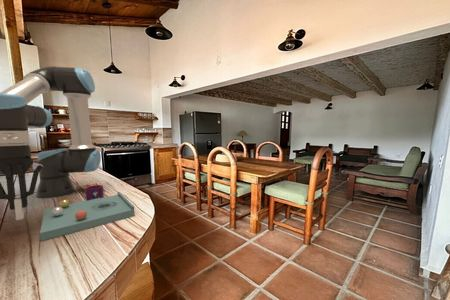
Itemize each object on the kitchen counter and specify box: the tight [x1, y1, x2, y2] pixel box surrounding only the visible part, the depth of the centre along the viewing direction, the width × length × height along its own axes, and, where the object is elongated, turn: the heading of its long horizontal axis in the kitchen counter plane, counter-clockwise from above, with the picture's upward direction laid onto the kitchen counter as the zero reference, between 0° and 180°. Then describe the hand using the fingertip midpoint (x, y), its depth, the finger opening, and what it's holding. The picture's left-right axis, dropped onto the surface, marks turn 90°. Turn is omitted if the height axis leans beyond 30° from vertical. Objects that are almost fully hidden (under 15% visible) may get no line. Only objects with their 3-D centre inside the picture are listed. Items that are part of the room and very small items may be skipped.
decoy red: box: [75, 210, 87, 220], centre depth 65 cm, size 3×3×3 cm
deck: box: [39, 191, 135, 242], centre depth 74 cm, size 24×26×4 cm
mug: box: [84, 184, 105, 201], centre depth 91 cm, size 7×10×7 cm
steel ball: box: [52, 206, 64, 216], centre depth 68 cm, size 3×3×3 cm
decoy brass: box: [58, 198, 71, 208], centre depth 76 cm, size 3×3×3 cm
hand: (20, 218), depth 62 cm, fingers closed
